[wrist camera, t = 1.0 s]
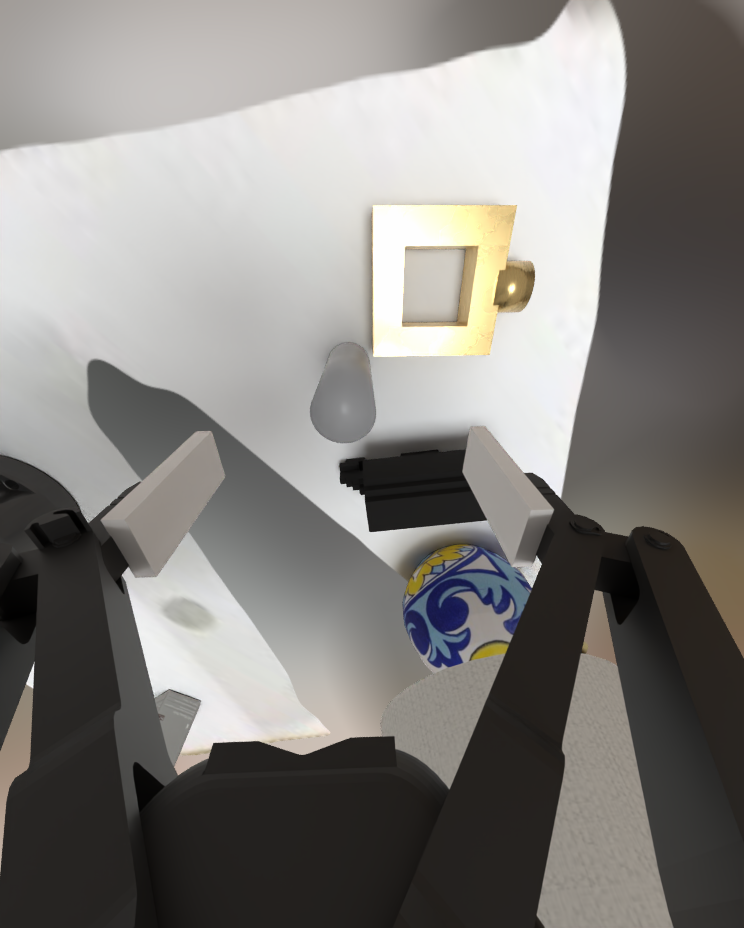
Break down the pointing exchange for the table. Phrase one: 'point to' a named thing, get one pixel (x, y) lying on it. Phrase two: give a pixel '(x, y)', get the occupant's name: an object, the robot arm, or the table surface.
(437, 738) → the table lamp
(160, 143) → the table surface
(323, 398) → the grey rounded cylinder
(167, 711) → the skincare box
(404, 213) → the gold square frame
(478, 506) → the security camera
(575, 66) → the table surface
